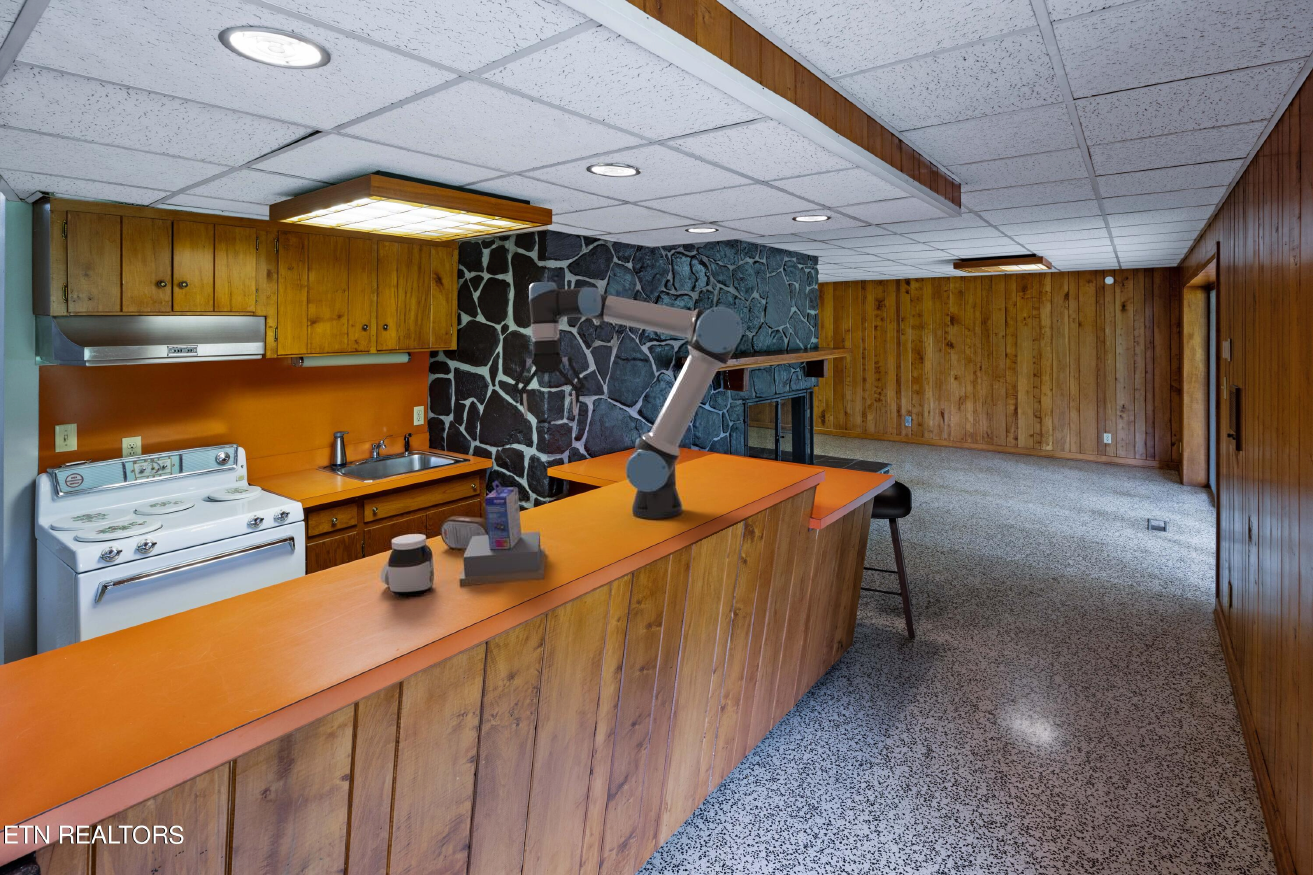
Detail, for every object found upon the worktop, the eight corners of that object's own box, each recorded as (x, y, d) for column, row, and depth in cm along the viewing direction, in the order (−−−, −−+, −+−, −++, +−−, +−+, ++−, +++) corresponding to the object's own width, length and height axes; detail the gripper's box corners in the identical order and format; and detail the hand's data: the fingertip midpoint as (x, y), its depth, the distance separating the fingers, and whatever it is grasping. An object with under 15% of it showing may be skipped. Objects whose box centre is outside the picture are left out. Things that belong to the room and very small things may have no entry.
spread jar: (421, 600, 135) (417, 545, 133) (367, 601, 135) (362, 546, 134) (443, 579, 147) (439, 529, 145) (393, 580, 147) (388, 529, 145)
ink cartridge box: (499, 537, 157) (495, 477, 155) (522, 536, 157) (518, 477, 155) (487, 549, 147) (482, 486, 145) (511, 549, 147) (507, 486, 145)
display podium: (545, 553, 163) (543, 530, 162) (543, 578, 145) (542, 552, 144) (470, 559, 160) (468, 535, 159) (459, 585, 142) (457, 558, 142)
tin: (496, 549, 167) (494, 517, 166) (489, 553, 164) (487, 520, 163) (447, 545, 172) (444, 514, 171) (439, 549, 169) (437, 517, 168)
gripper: (590, 338, 188) (594, 412, 190) (500, 341, 184) (506, 417, 187) (591, 337, 180) (595, 414, 183) (498, 341, 177) (504, 419, 179)
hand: (550, 416), depth 185 cm, fingers open, 13 cm apart
